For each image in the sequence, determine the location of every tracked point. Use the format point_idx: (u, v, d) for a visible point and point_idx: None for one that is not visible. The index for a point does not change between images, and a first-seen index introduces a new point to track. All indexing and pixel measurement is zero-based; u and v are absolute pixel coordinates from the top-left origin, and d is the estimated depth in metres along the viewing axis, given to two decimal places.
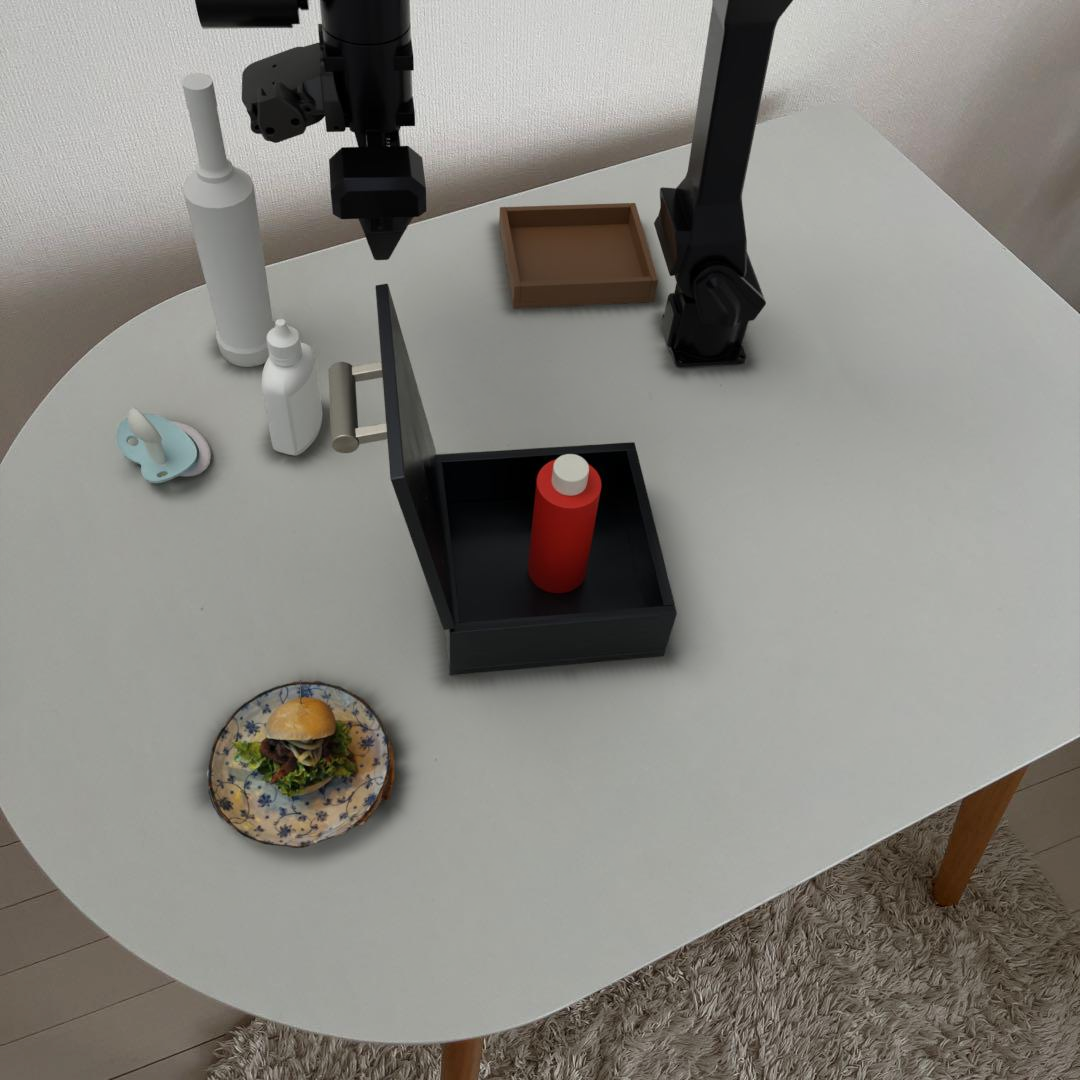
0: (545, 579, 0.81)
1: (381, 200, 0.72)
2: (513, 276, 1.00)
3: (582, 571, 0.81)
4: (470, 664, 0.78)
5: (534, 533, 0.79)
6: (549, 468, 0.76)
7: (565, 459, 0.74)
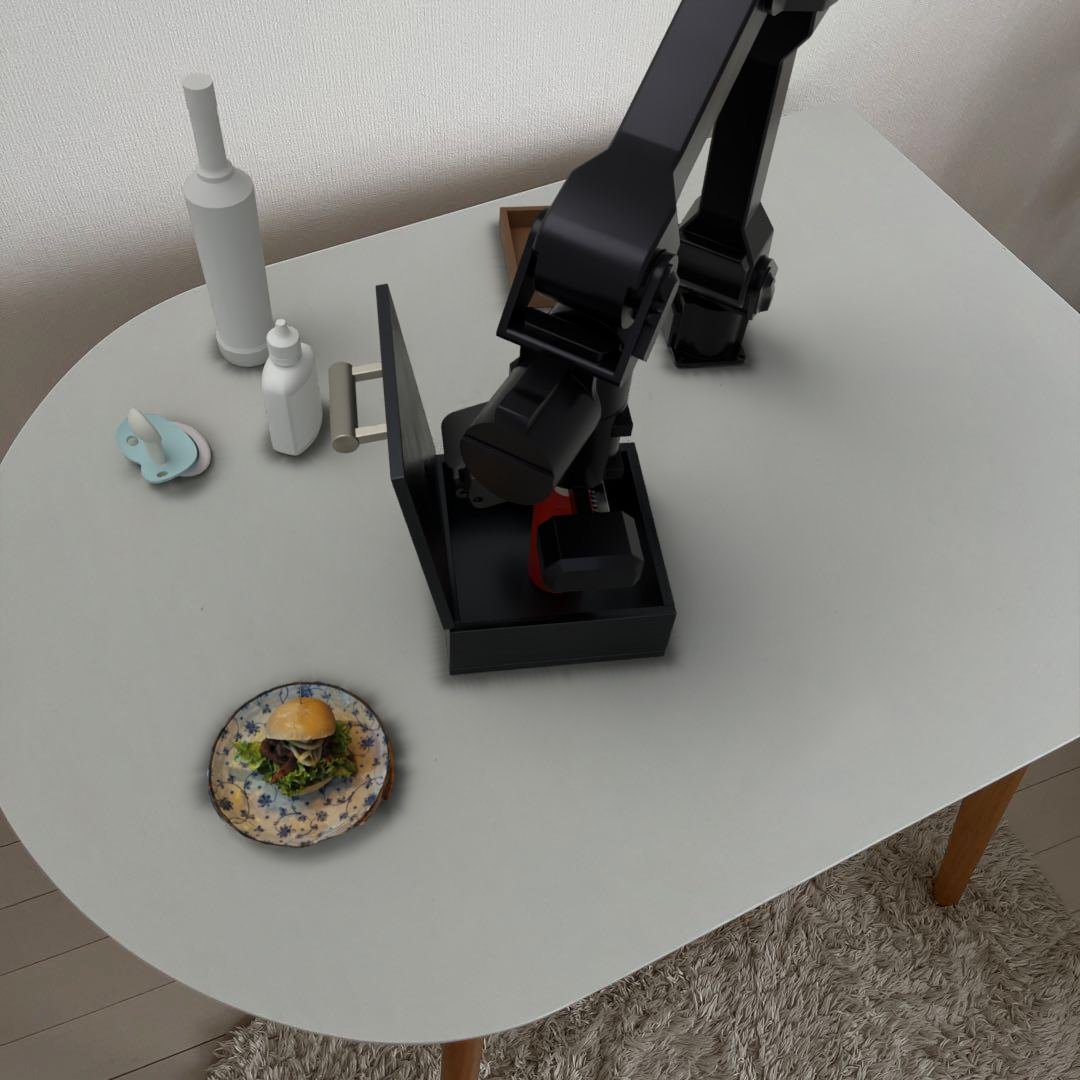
0: None
1: (598, 576, 0.68)
2: (513, 276, 1.00)
3: None
4: (470, 664, 0.78)
5: (534, 533, 0.79)
6: None
7: None
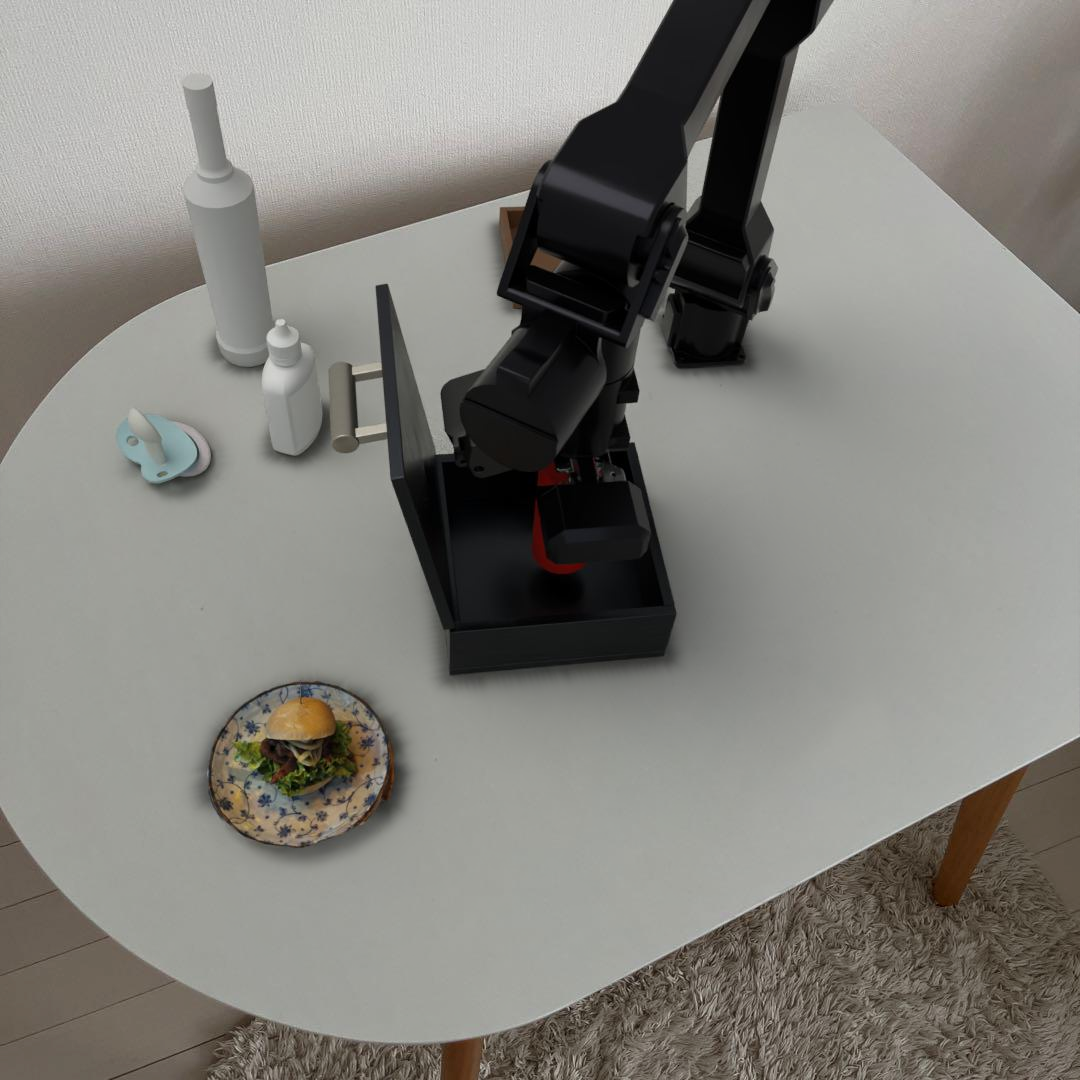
0: (549, 560, 0.79)
1: (603, 548, 0.66)
2: None
3: None
4: (470, 664, 0.78)
5: (537, 513, 0.77)
6: None
7: None
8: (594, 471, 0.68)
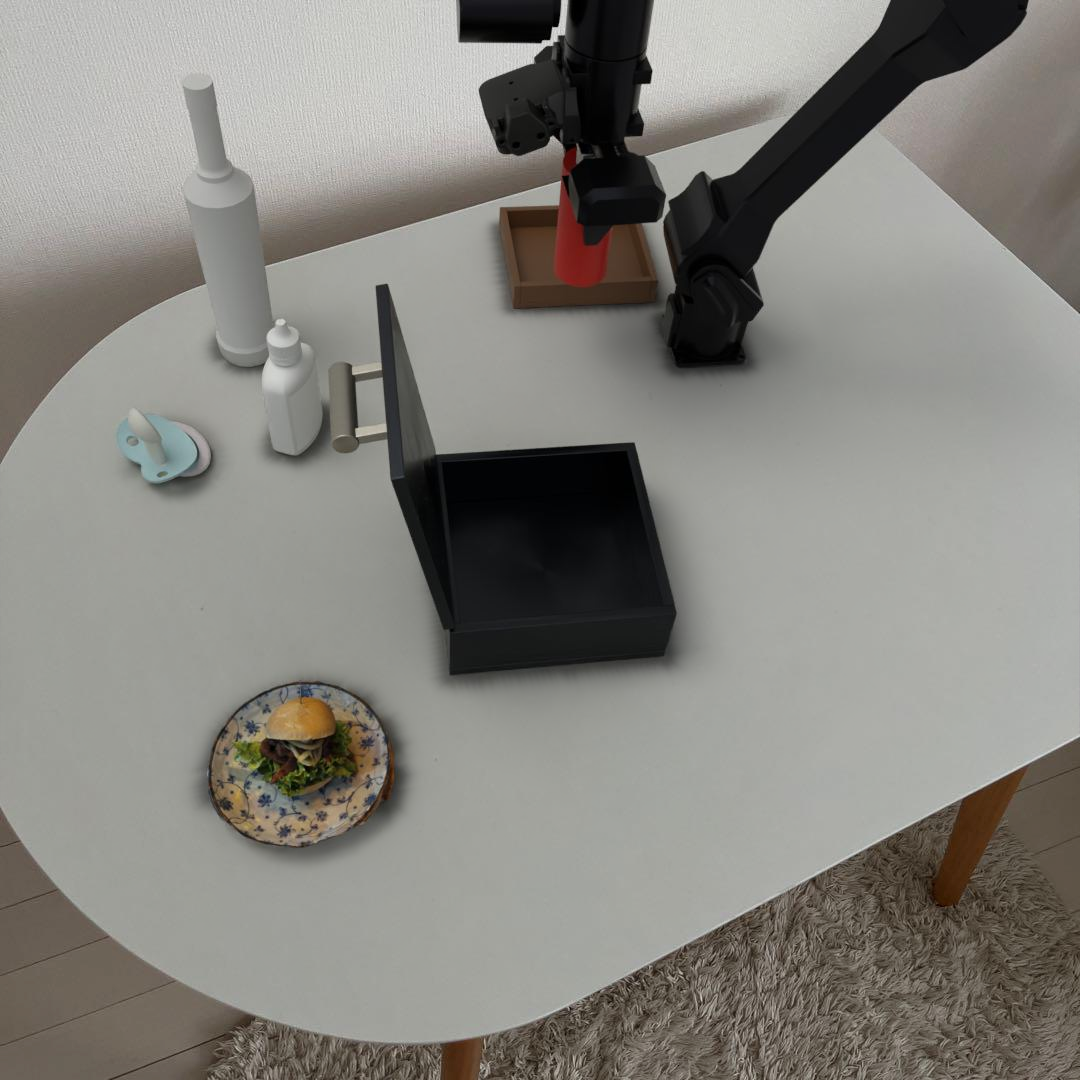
0: (571, 271, 0.90)
1: (626, 208, 0.76)
2: (513, 276, 1.00)
3: (604, 263, 0.90)
4: (470, 664, 0.78)
5: (560, 221, 0.87)
6: (573, 152, 0.84)
7: None
8: (614, 152, 0.79)
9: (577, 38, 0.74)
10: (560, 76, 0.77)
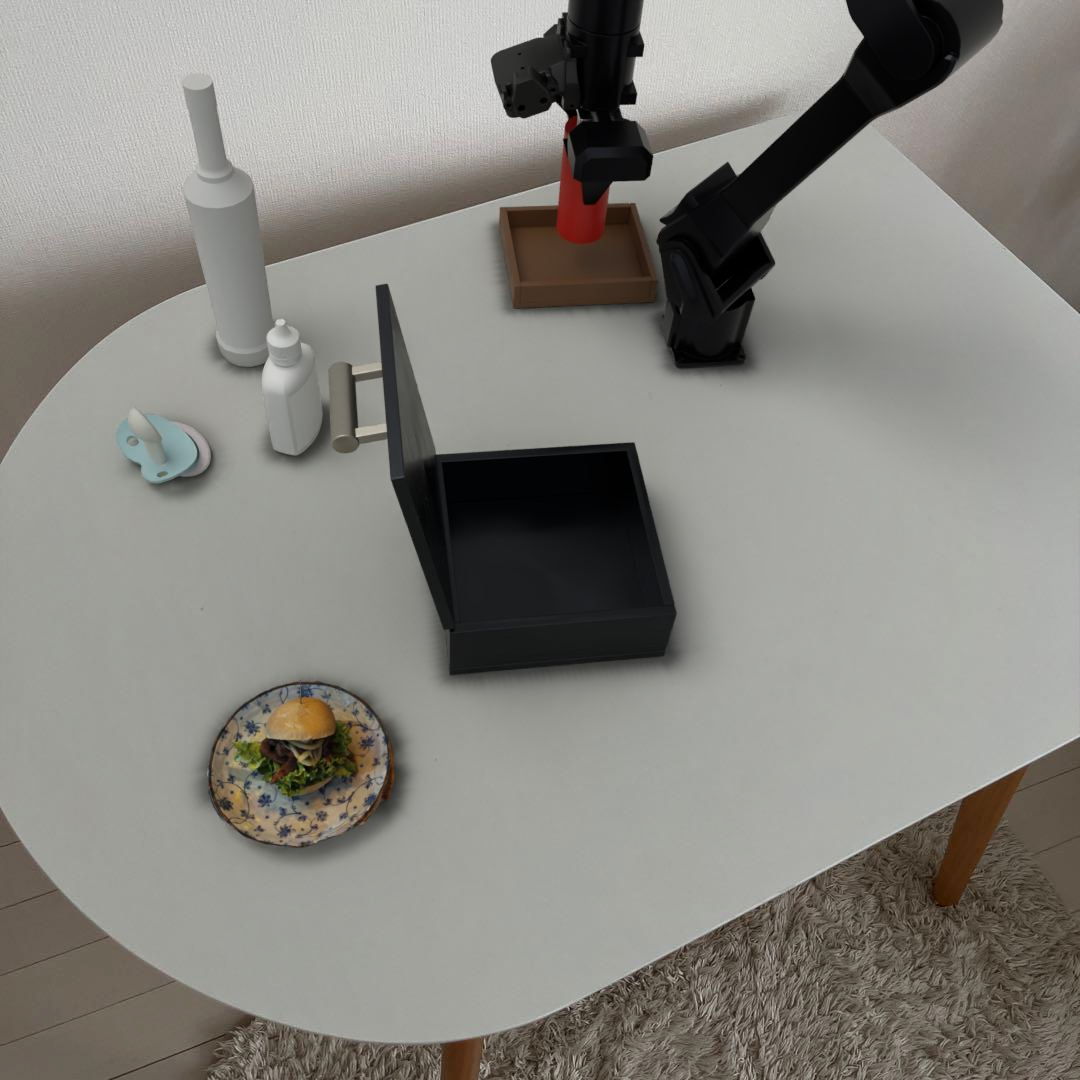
0: (571, 229, 1.00)
1: (616, 166, 0.86)
2: (513, 276, 1.00)
3: (601, 223, 1.00)
4: (470, 664, 0.78)
5: (562, 182, 0.97)
6: (574, 119, 0.94)
7: None
8: (609, 117, 0.88)
9: (569, 0, 0.85)
10: (563, 48, 0.87)
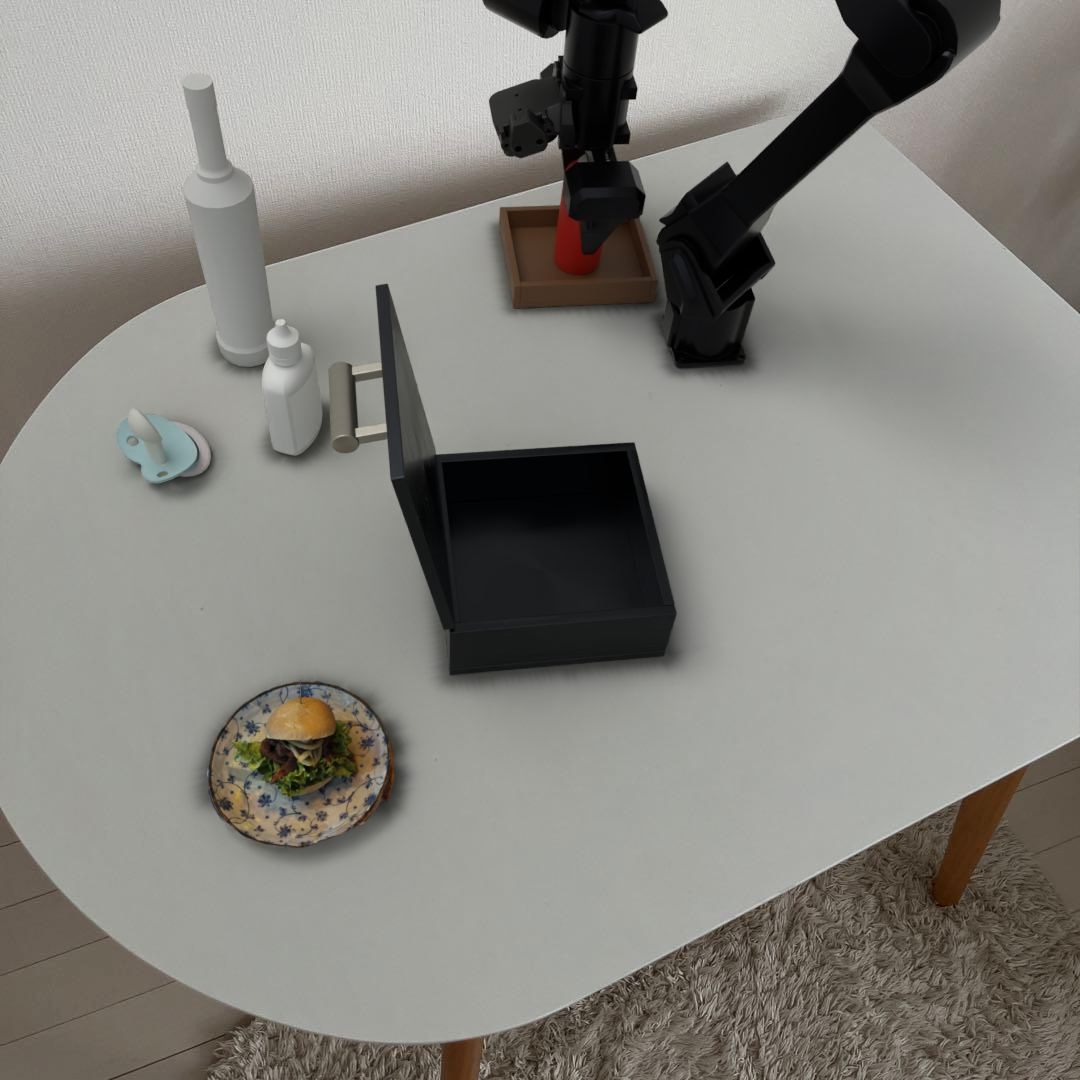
0: (567, 262, 1.02)
1: (610, 205, 0.89)
2: (513, 276, 1.00)
3: (597, 256, 1.02)
4: (470, 664, 0.78)
5: (560, 222, 0.99)
6: None
7: None
8: (603, 157, 0.91)
9: (564, 45, 0.88)
10: (558, 91, 0.90)
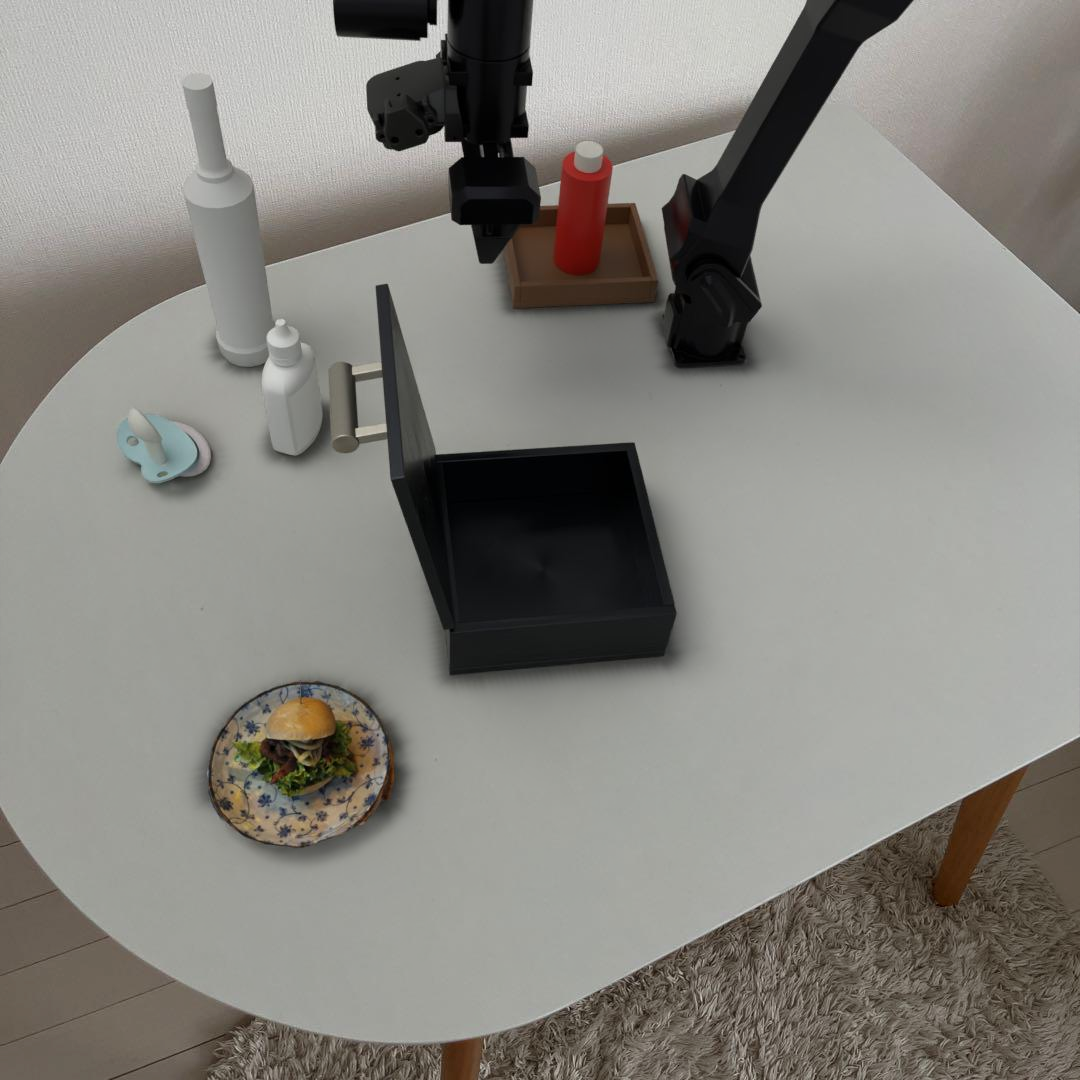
0: (567, 260, 1.03)
1: (499, 208, 0.76)
2: (513, 276, 1.00)
3: (597, 255, 1.03)
4: (470, 664, 0.78)
5: (559, 216, 1.00)
6: (572, 156, 0.97)
7: (584, 144, 0.96)
8: (496, 152, 0.79)
9: (456, 37, 0.74)
10: (443, 74, 0.78)
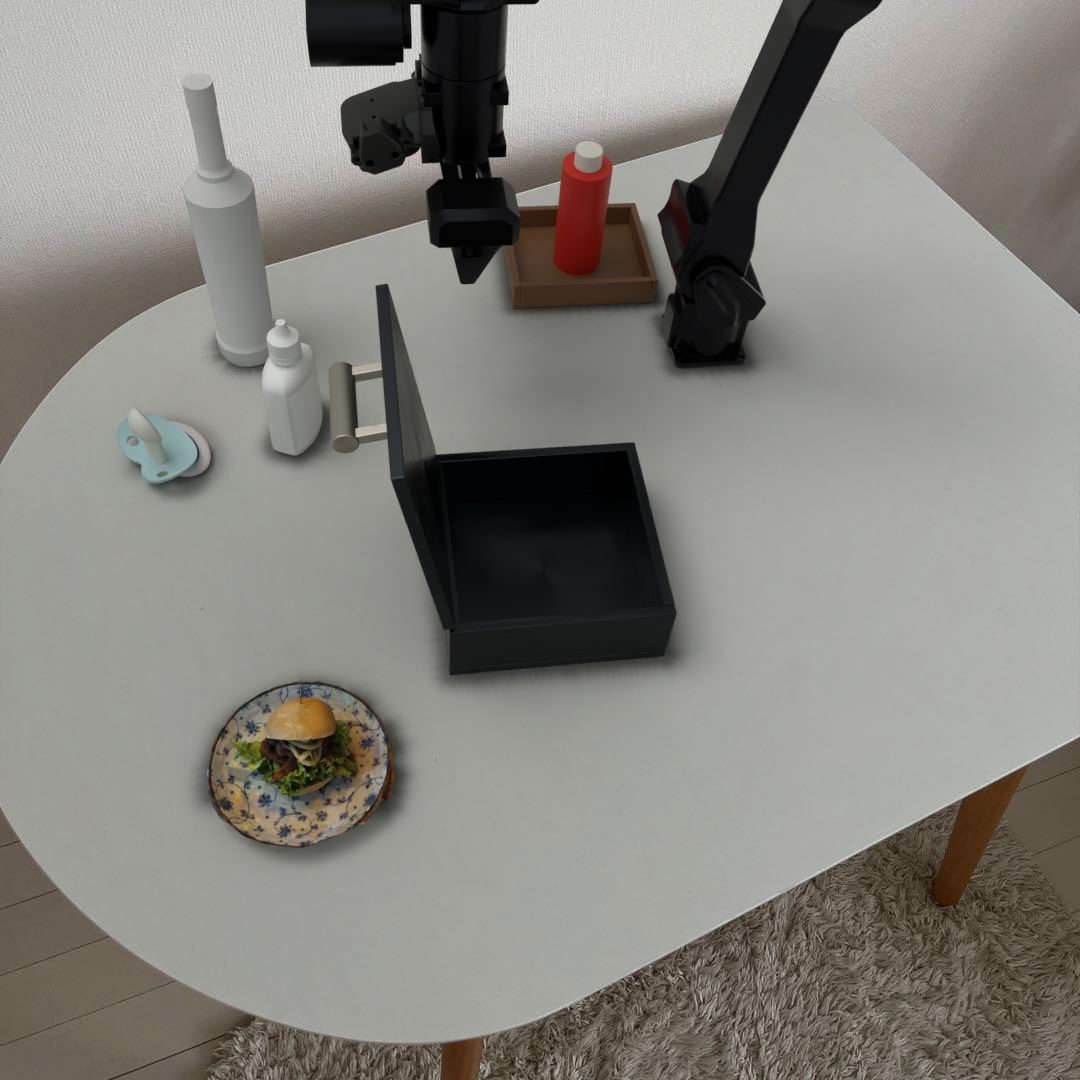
0: (567, 260, 1.03)
1: (478, 230, 0.75)
2: (513, 276, 1.00)
3: (597, 255, 1.03)
4: (470, 664, 0.78)
5: (559, 216, 1.00)
6: (572, 156, 0.97)
7: (584, 144, 0.96)
8: (474, 173, 0.78)
9: (431, 59, 0.73)
10: (418, 95, 0.76)
